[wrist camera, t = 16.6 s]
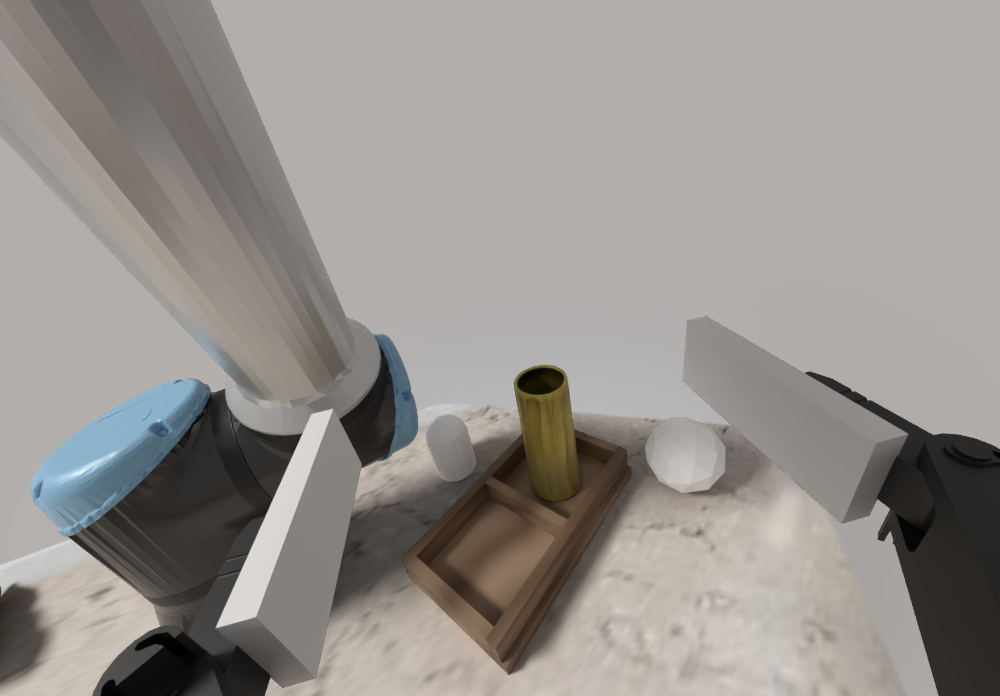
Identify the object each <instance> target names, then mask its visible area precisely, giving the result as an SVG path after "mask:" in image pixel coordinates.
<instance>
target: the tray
mask: <svg viewBox="0 0 1000 696" xmlns="http://www.w3.org/2000/svg"><path fill="white" fill-rule="evenodd" d="M574 433H575V439H576V447H577V456H578V462H579V467H580V470H581V473H582V484H581V487H580V489H579V490H578V491H577V493H576V494H575V495H573V496H572V497H570V498H568V499H565V500H562V501H548V500H545V499H542V498H540V497H539V496H537V495H536V494H535V493H534V492H533V491H532V489H531V487H530V483H529V473H530V472H529V467H528V463H527V458H526V453H525V447H524V441H523V435H521V436H520V437H519V438H518V439H517V440H516V441H515V442H514V443H513V444H512V445H511V446H510V447H509V448H508V449H507V450H506V451H505V452H504V453H503V454H502V455H501V456H500V457H499V458H498V459H497V460H496V462H495V463H494V464H493V465H492V466H491V467H490V468H489V469H488V470H487V471H486V472H485V473H484V474H483V475H482V476H481V477H480V478H479V479H478V480H477V481H476V482H475V483H474V484H473V485H472V486H471V487H470V488H469V489H468V490H467V491H466V493H465V494H464V495H463V496H462V497H461V498H460V499H459V500H458V501H457V502H456V503H455V504H454V505H453V506H452V507H451V508H450V509H449V510H448V511H447V512H446V513H445V514H444V515H443V516H442V517H441V518H440V519H439V520H438V521H437V522H436V524H435V525H434V526H433V527H432V528H431V529H430V530H429V531H428V532H427V533H426V534H425V535H424V536H423V537H422V538H421V539H420V540H419V541H418V542H417V543H416V544H415V545H414V546H413V547H412V548H411V549H410V550H409V551H408V552H407V553H406V555H405V556H404V557H403V558H402V561H403V563H404V565H405V567H406V569H407V570H406V571H407V573H408V575H409V577H410V578H411V579H412V580H413V581H414V582H415V583H416V584H417V585H418V586H419V587H420V588H421V589H422V590H423V591H424V592H425V593H426V594H427V595H428V596H429V597H430V598H431V599H432V600H433V601H434V602H435V603H436V604H437V605H438V606H439V607H440V608H441V609H442V610H443V611H444V612H445V613H446V614H448V615H449V616H450V617H451V618H452V619H453V620H454V621H455V622H456V623H457V624H458V625H459V626H460V627H461V628H462V629H463V630H464V631H465V632H466V633H467V634H468V635H469V636H470V637H471V638H472V639H473V640H474V641H475V642H476V643H477V644H478V645H479V646H480V647H481V648H482V649H483V650H484V651H485V652H486V653H487V654H488V655H489V656H490V657H491V658H492V659H493V660H494V661H495V662H496V663H497V664H498V665H499V666H500V667H502V668H503V669H504V670H505V671H506V672H507V673H508V674H510V672H511V670H512V669H513V667H514V665H515V664H516V662H517V660H518V659H519V657H520V656H521V654H522V652H523V651H524V649H525V647H526V646H527V644H528V642H529V641H530V639H531V638H532V636H533V634H534V633H535V631H536V629H537V628H538V626H539V624H540V623H541V621H542V620H543V618H544V616H545V615H546V613H547V611H548V610H549V608H550V606H551V605H552V603H553V602H554V600H555V598H556V597H557V595H558V593H559V592H560V590H561V589H562V587H563V585H564V584H565V582H566V580H567V579H568V577H569V575H570V574H571V572H572V571H573V569H574V567H575V566H576V564H577V562H578V561H579V559H580V557H581V556H582V554H583V553H584V551H585V549H586V548H587V546H588V544H589V543H590V541H591V539H592V538H593V536H594V535H595V533H596V531H597V530H598V528H599V526H600V525H601V523H602V521H603V520H604V518H605V517H606V515H607V513H608V512H609V510H610V508H611V507H612V505H613V503H614V502H615V500H616V499H617V497H618V495H619V494H620V492H621V490H622V489H623V487H624V485H625V484H626V482H627V481H628V479H629V477H630V476H631V467H630V466H627V450H626V449H623V448H621V447H618V446H616V445H613V444H610V443H608V442H605V441H603V440H600V439H597V438H595V437H592V436H590V435H587V434H584V433H582V432H579V431H576V430H574Z"/></svg>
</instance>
